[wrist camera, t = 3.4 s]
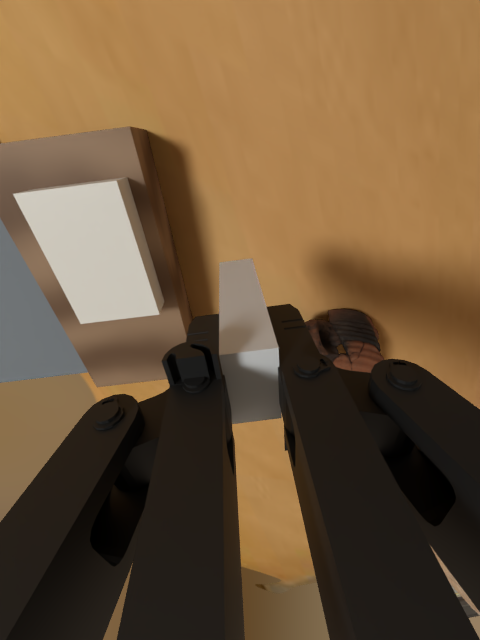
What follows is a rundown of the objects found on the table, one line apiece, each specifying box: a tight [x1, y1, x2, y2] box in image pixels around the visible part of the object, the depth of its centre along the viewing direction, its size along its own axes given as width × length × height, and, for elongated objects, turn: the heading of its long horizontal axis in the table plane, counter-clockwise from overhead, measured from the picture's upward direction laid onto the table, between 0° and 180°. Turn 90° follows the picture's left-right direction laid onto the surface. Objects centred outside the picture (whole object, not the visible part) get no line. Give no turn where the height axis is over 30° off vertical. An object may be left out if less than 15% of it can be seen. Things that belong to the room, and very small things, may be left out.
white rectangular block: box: [13, 177, 164, 324], centre depth 19 cm, size 9×6×2 cm, turn 6°
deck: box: [0, 127, 193, 387], centre depth 23 cm, size 20×10×4 cm, turn 6°
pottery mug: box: [305, 309, 384, 373], centre depth 28 cm, size 12×10×8 cm
